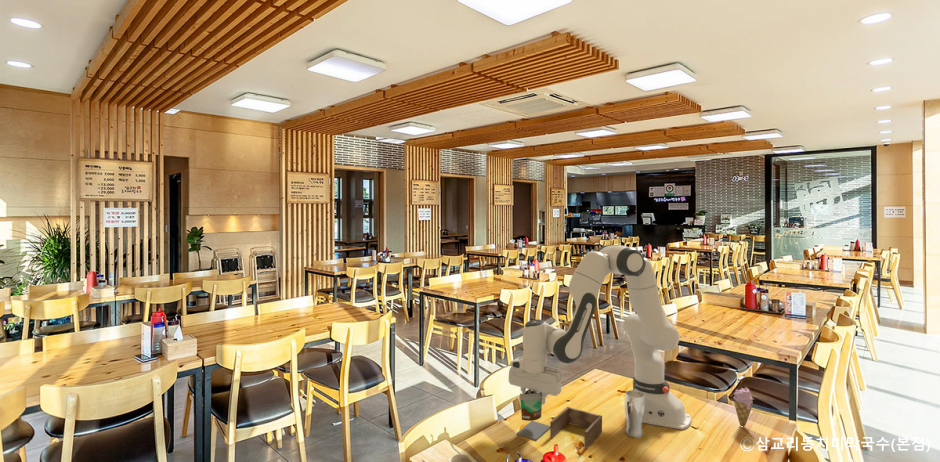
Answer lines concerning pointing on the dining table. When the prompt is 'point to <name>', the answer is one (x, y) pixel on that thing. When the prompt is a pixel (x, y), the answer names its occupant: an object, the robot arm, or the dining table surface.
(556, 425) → the open box
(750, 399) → the ice cream cone
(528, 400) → the food container
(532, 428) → the rubber mat
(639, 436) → the beer glass
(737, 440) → the dining table surface
